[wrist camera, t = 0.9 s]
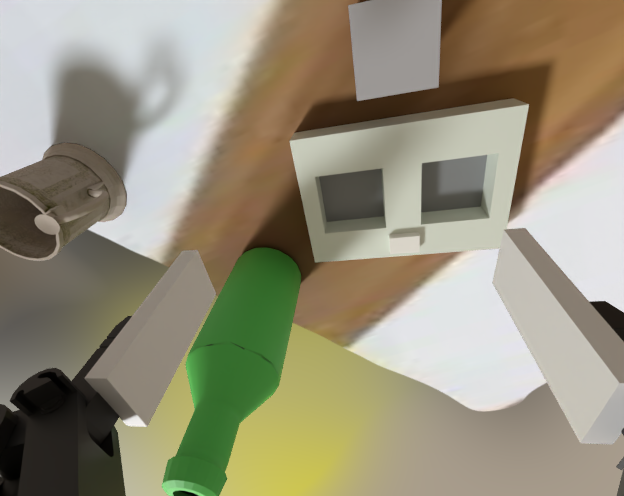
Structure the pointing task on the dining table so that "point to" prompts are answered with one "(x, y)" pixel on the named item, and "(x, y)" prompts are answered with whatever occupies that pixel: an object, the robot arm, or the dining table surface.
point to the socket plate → (411, 181)
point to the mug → (57, 201)
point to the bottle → (234, 366)
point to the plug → (395, 46)
